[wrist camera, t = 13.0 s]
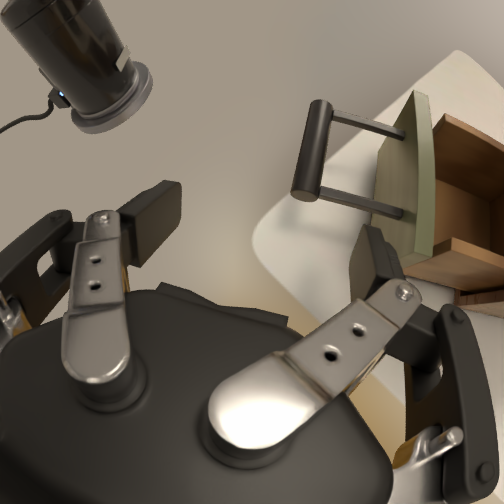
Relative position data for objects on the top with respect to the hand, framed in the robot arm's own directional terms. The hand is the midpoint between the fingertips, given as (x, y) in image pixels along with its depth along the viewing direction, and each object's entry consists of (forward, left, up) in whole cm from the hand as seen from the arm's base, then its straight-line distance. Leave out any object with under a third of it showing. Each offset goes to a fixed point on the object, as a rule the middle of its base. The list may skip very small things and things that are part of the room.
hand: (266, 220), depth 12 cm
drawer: (+11, +6, -10) cm, 16 cm away
